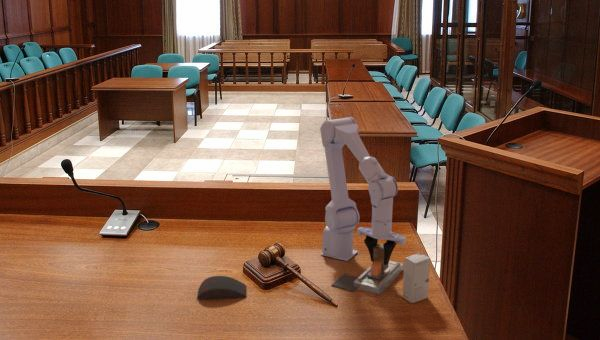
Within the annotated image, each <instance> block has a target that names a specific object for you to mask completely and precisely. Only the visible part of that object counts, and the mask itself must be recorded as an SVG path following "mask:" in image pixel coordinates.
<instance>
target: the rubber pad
mask: <svg viewBox="0 0 600 340" xmlns="http://www.w3.org/2000/svg"><path fill="white" fill-rule="evenodd" d="M358 277H359V276H356V275H352V274H347V273H343V274H341V276H340V277H339V278H337V279H336V280H335V281H334V282H333V283H332V284H331V287H334V288H338V289H342V290H346V291H349V292H353V293H354V292H355V291H356V290H358V289H357V288H356V287H354V281H355V280H356V279H357V278H358Z"/></svg>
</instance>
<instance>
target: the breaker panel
mask: <svg viewBox="0 0 600 340" xmlns="http://www.w3.org/2000/svg"><path fill="white" fill-rule="evenodd" d="M370 271H371V265H370V266H369V267H367V268H366V270H364V272H363V273H361V274H360V275H359V276H357V277H358V278H357V279H356V280H355V281H354V287H356V288H357V289H356V290H358V291H359V290H360V291H363V292H365V293H369V294H373V295H378V296H380V295H381V294H382V293H383V292H384V291H385V290H386V289H387V288H388V287H389V285H391V284H392V282H393V281H394V280H395V279H396V278H397V277H398V276H399V275H400V274H401V273H402V272H403V271H404V263H401V261H394V260H389V265H388V268H387V269H386V270H385V271H384V272H385V274H384V275H383V276H382V277H381V279H380V280H379V279H376V278H372V277H368V276H367V274H368V273H369V272H370Z"/></svg>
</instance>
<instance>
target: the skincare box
mask: <svg viewBox="0 0 600 340" xmlns="http://www.w3.org/2000/svg"><path fill="white" fill-rule="evenodd" d="M403 260H404V262H403V264H404V265H403V279H402V298H403V299H404V300H406V301H408V302H409V303H411V304H414V303H417V302H420V301H423V300H426V299H427V298H428V297H429V283H430V270H431V269H430V268H431V267H430V266H431V257H429V256H427V255H425V254H423V253H421V252H420V253H416V254H411V255H409V256H406V257H404V259H403Z"/></svg>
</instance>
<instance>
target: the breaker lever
mask: <svg viewBox="0 0 600 340" xmlns="http://www.w3.org/2000/svg"><path fill="white" fill-rule="evenodd" d="M370 266H371V271H370V272H369V273H368V274H367V276H368V277H372V278H376V279H379V280H380V279H381V277H382V276H383V275H384V274H385V272H382V271H381V267H382V262H379V261H375V262H372V263H371V264H370Z"/></svg>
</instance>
